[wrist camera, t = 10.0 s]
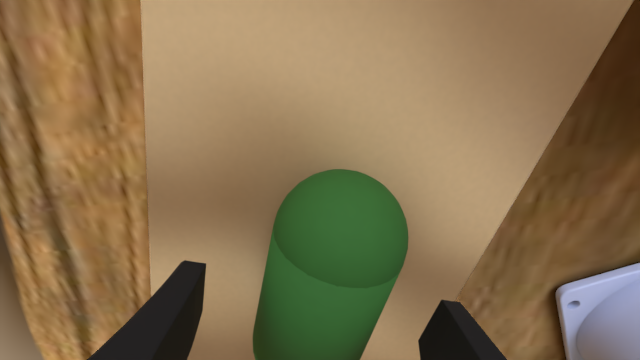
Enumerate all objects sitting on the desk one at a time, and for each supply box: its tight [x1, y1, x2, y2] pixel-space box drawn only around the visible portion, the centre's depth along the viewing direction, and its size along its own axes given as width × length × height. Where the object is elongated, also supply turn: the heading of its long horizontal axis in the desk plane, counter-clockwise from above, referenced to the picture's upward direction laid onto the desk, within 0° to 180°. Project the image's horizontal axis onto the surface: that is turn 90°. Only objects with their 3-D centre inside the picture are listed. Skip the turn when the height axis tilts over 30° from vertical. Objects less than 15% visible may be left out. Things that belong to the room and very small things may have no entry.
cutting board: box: [141, 0, 634, 360], centre depth 13 cm, size 20×12×1 cm, turn 168°
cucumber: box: [253, 169, 409, 360], centre depth 11 cm, size 8×4×4 cm, turn 168°
